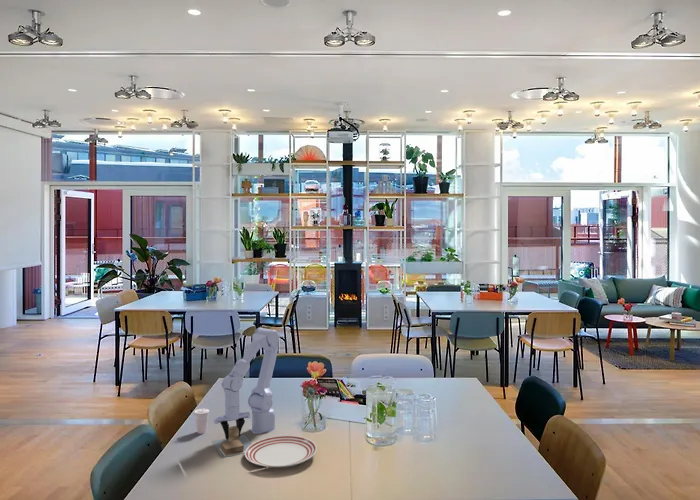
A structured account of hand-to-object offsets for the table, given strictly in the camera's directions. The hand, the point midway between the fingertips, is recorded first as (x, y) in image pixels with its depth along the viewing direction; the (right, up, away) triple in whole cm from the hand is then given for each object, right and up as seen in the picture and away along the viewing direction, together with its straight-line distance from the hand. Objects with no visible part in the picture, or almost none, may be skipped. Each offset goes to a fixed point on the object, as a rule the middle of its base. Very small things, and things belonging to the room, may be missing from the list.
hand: (232, 437), depth 218 cm
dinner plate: (+22, -2, -15) cm, 27 cm away
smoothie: (-15, -2, +9) cm, 18 cm away
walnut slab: (+2, -1, -10) cm, 10 cm away
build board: (+2, -2, -6) cm, 6 cm away
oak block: (0, -1, 0) cm, 1 cm away
